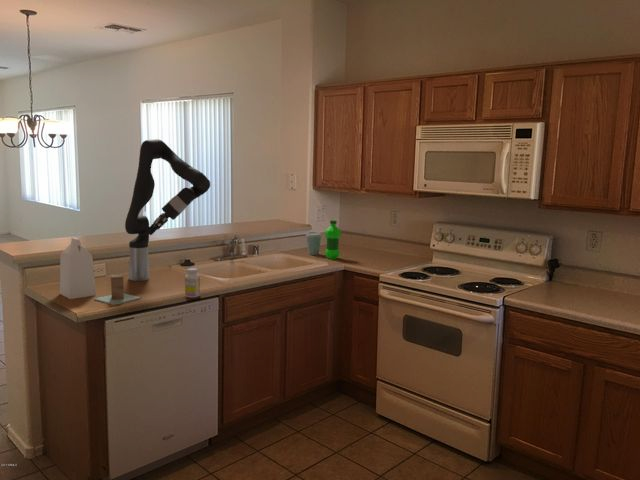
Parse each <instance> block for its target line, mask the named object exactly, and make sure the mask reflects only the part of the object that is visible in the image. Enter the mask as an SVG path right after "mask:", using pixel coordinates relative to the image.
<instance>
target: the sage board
mask: <svg viewBox="0 0 640 480" xmlns="http://www.w3.org/2000/svg"><path fill="white" fill-rule="evenodd" d="M141 298H142V297H139V296H136V295H132V294H128V293H125V292H124V299H117V300H112V294H109V295H104V296H100V297H99V296H98V297H96V298H95V297H94V298H93V301H96V302H101V303H104V304H108V305H112V306H116V305H120V304H121V305H122V304H124V303H129V302H133V301H138V300H141Z"/></svg>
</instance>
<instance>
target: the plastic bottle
mask: <svg viewBox="0 0 640 480" xmlns="http://www.w3.org/2000/svg"><path fill="white" fill-rule="evenodd" d="M337 221H338V220H334V219H333V220H330V221H329V224H330V226H329V227H327V228H326V229H325V233H324V234H325V235H324V236H325V237H326V249H325V252H324V255H325V256H326V258H328V259H329V260H336V259H337V258H339V256H340V253H341V252H340V250H339V249H340V248H339V243H340V242H339V241H340V238H341V235H342V233H341V232H342V231H341V229H339V228H338V227H337Z"/></svg>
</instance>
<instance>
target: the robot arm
mask: <svg viewBox="0 0 640 480" xmlns="http://www.w3.org/2000/svg"><path fill="white" fill-rule="evenodd" d="M157 159H162V160H164V161H166V162H167V163H169V165H170V167H171V169H172V171H173V172H174V173H175V174H176V176H179V177H180V178H182V180H184V181H186V182H189V183H190V185H192V186H191V187H189V188H188V187H184V188H182V189H181V190H180V191H179V192H177V194H175V196H173V197H171V198H170V200H169V201H168V202H166V203H165V205H164V206H163V207H162V208H161V210H162V211H163V212H164V213H163V212H162V213H161V214H160V215H158V217H156V218H155V220H153V223H152V224H150V220H149V218H148V216H146V215H140V213H141V211H142V209H143V208H144V207H145V206H146V205H147V204H148V203H149V201H150V200H151V199H152V197H153V194H154V192H155V178H154V177H153V174H152V165H153V160H157ZM137 168H138V169H137V173H136V179H135V182H134V188H133V192H132V197H131V202H130V205H129V208H128V213H127V216H126V218H125V223H124V227H125V232H126V233H127V234H129V235H137V236H136V237H135V238H133V239H131V240H130V241H129V242H128V245H129V246H128V247H129V248H128V249H129V250H128V251H129V260H128V280H130V281H133V282H143V281H149V279H150V276H149V275H150V274H149V241H150V236H152V235H153V234H154V233H155V232H156V231H157V230H160V229H161V228H162V227H163V226H164V225H165V224H166V223H168V219H169V218H170V219H171V220H173V221H175V220H176V219H177V218H178V217H179V216H180V215H181V214H182V213H183V212H184V211H185V210H186V208H187V207H188V206H189V205H190V204H191V203H193V202H194V200H195V199H197V198H199V197H201V196H202V195H204V194H205V193H207V192H208V190H210V188H211V181H210V180H209V178H208V177H207V176H206V175H205V174H204V173H203V172H202V171H200V170H198V169H197V168H194V167H193V166H191V164H189V163H187V162H186V161H184V160H183V159H182V158H180V157H179V156H178V154H177V153H175V152H174V151H173V150H172V149H171V147H169V145H167V144H166V142H164V141H163V140H162V139H157V138H156V139H146V140H144V141H143V142H141V144H140V150H139V157H138V167H137Z"/></svg>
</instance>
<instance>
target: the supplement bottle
mask: <svg viewBox="0 0 640 480" xmlns="http://www.w3.org/2000/svg"><path fill="white" fill-rule="evenodd" d="M186 273H187V274H186V275H184V295H185V296H184V297H187V298H191V299H192V298H193V299H194V298H198V297H200V295H201V289H200V287H201V286H200V285H201V282H200V280H201V279H200V277H201V276H200V274H199V273H198V268H197V267H195V268H194V267H190V268H186Z"/></svg>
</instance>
